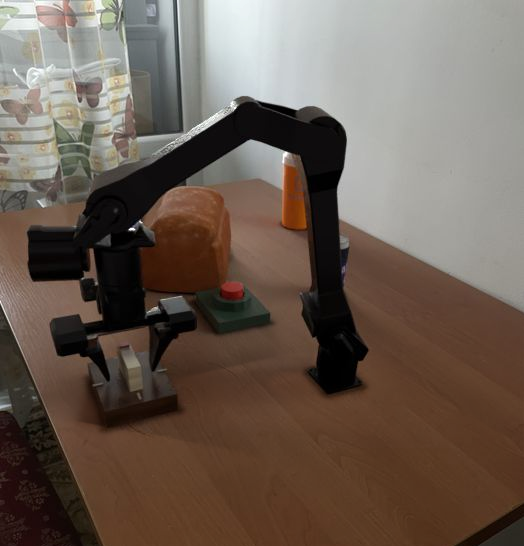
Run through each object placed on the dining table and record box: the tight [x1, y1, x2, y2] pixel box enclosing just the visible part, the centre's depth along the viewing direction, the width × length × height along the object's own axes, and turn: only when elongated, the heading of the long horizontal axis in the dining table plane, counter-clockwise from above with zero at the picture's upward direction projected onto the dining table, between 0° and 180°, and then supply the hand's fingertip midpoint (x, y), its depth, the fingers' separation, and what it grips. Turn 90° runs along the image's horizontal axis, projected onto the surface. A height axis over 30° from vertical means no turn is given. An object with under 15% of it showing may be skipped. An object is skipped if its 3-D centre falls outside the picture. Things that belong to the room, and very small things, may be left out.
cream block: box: [116, 341, 143, 392], centre depth 78 cm, size 6×2×4 cm, turn 26°
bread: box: [141, 185, 232, 294], centre depth 113 cm, size 17×24×15 cm
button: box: [221, 281, 243, 300], centre depth 99 cm, size 4×4×2 cm
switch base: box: [86, 349, 179, 429], centre depth 80 cm, size 12×11×3 cm
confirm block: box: [194, 283, 271, 334], centre depth 101 cm, size 12×10×4 cm
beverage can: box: [340, 233, 350, 289], centre depth 106 cm, size 6×6×12 cm
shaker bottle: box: [281, 151, 307, 230], centre depth 135 cm, size 9×9×20 cm
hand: (130, 374), depth 79 cm, fingers open, 6 cm apart
